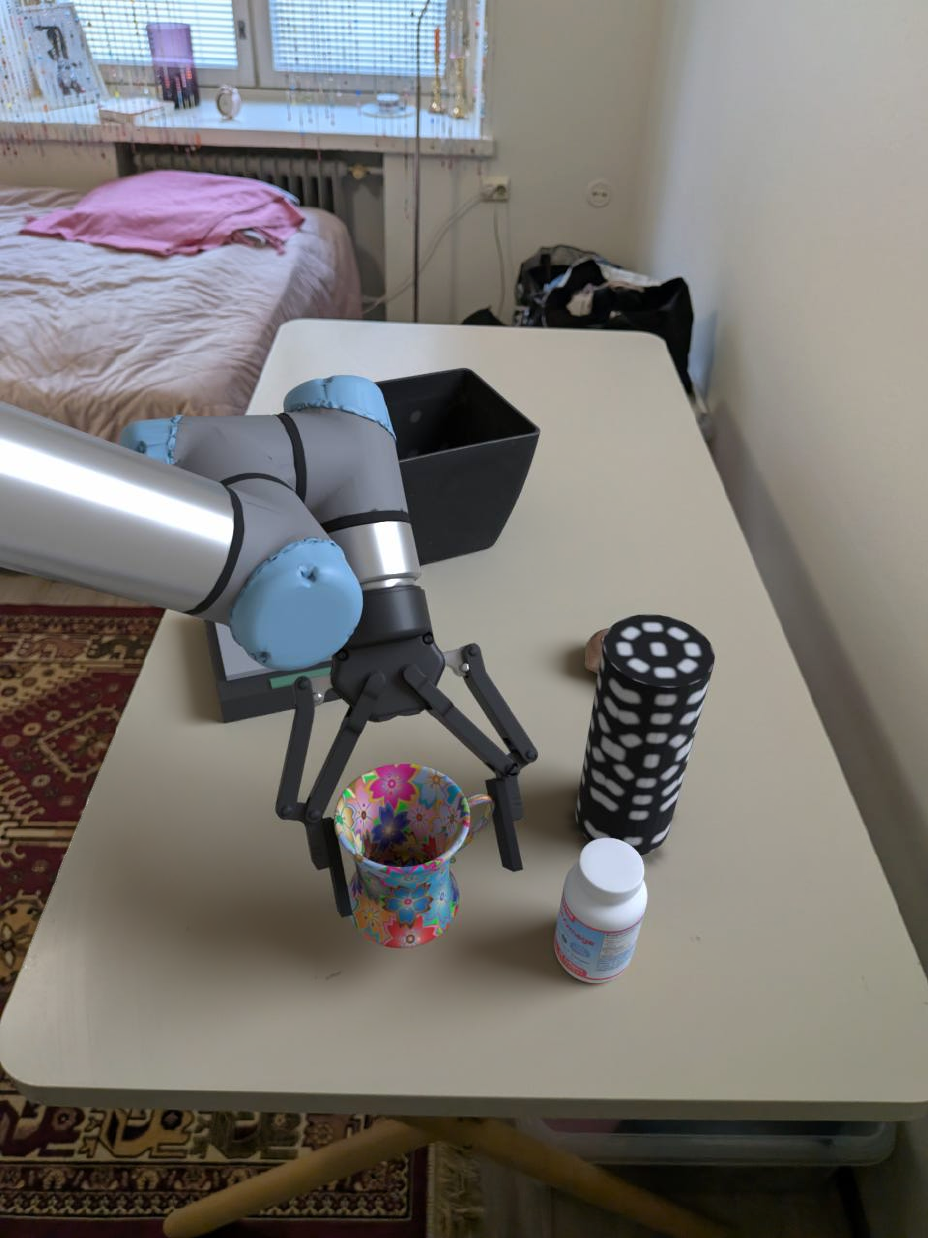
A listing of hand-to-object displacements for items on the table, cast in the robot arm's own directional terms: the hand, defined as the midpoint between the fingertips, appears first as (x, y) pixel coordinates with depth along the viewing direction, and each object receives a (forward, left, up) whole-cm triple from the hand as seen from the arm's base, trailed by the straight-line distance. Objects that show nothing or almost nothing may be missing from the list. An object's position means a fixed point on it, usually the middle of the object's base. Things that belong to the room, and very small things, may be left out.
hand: (431, 890), depth 66 cm
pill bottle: (+12, -3, -9) cm, 15 cm away
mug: (0, +3, -5) cm, 5 cm away
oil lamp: (+28, +25, -9) cm, 38 cm away
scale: (-4, +38, -9) cm, 39 cm away
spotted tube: (+20, +8, -9) cm, 23 cm away
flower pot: (+17, +56, -9) cm, 59 cm away
